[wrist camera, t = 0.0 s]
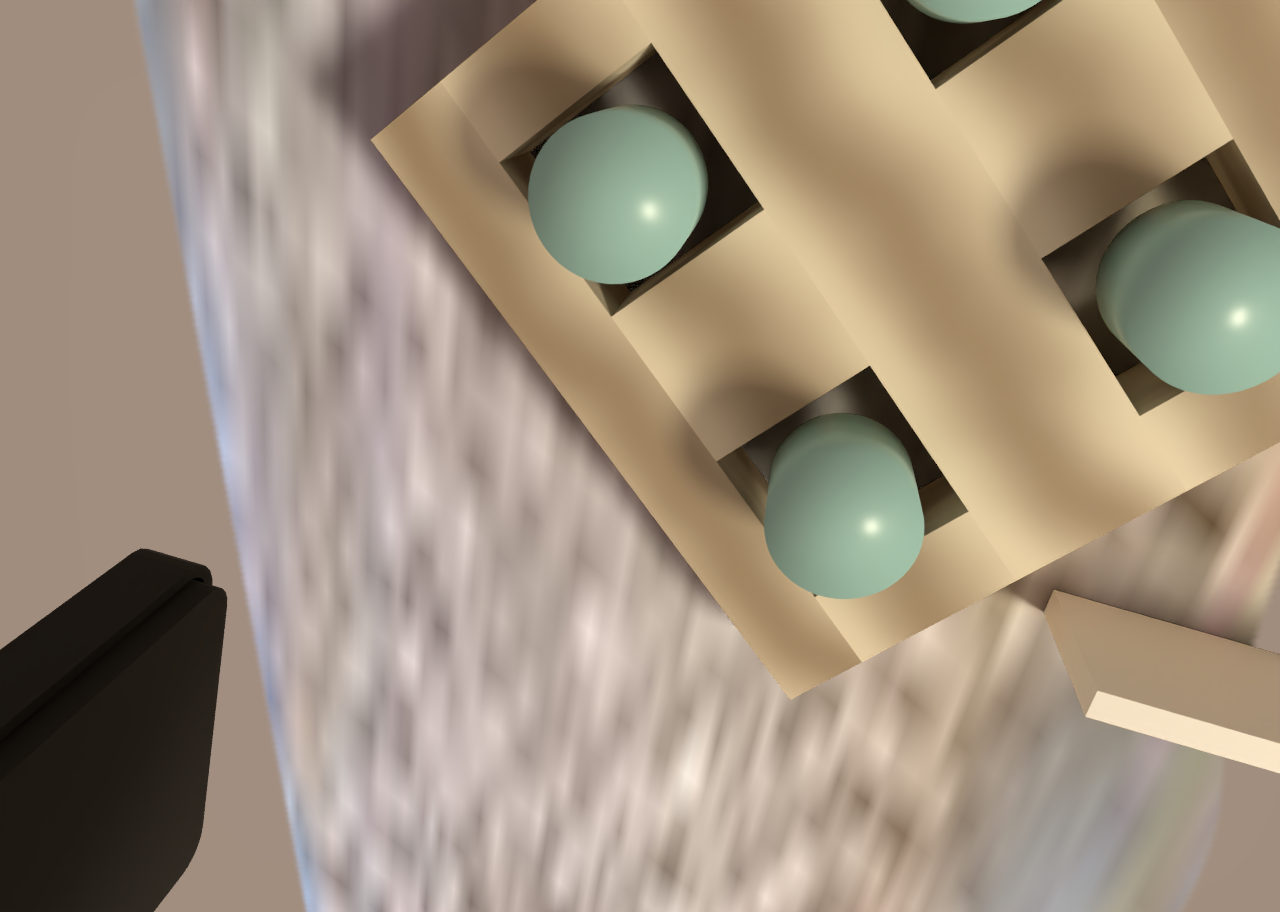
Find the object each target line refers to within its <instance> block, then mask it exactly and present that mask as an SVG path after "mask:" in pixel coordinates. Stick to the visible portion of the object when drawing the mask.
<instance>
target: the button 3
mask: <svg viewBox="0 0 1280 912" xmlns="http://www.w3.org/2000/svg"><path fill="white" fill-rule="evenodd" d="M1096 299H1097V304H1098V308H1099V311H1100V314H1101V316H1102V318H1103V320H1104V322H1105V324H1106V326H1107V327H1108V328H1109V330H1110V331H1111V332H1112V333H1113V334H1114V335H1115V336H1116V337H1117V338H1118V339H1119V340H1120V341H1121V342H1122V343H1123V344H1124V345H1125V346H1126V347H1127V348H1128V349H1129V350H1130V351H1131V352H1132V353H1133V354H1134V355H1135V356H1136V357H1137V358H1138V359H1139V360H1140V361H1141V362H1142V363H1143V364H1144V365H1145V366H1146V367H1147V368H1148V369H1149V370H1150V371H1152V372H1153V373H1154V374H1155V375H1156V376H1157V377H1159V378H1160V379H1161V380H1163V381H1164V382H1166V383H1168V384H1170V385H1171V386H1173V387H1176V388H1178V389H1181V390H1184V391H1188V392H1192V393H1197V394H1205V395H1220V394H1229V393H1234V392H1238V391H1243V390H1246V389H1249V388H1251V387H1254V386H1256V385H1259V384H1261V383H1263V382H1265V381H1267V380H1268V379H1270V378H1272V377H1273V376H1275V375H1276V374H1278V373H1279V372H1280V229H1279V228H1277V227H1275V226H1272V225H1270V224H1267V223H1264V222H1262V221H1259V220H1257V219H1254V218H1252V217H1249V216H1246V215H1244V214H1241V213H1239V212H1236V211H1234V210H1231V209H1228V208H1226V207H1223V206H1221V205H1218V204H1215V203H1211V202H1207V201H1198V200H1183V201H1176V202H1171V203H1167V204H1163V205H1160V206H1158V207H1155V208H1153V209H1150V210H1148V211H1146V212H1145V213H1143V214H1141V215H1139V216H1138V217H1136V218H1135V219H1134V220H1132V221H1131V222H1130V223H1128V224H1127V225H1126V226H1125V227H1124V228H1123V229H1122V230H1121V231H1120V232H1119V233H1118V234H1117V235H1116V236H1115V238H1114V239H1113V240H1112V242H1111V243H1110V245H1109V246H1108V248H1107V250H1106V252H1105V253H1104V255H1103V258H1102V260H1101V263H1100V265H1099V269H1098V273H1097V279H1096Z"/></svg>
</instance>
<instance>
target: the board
mask: <svg viewBox="0 0 1280 912" xmlns="http://www.w3.org/2000/svg"><path fill="white" fill-rule="evenodd" d="M656 52H658V53H659V55H660V56H661V58H662V59H663V61H664V62H665V64H666V65H667V67H668V68H669V69H670V71H671V72H672V74H673V75H674V77H675V78H676V80H677V81H678V83H679V84H680V86H681V87H682V89H683V90H684V92H685V93H686V95H687V96H688V98H689V99H690V100H691V102H692V103H693V105H694V106H695V108H696V109H697V111H698V112H699V114H700V115H701V117H702V118H703V120H704V121H705V123H706V124H707V126H708V127H709V129H710V130H711V132H712V133H713V134H714V136H715V137H716V139H717V140H718V142H719V143H720V145H721V146H722V148H723V149H724V151H725V152H726V154H727V155H728V157H729V158H730V160H731V161H732V163H733V164H734V165H735V167H736V168H737V170H738V171H739V173H740V174H741V176H742V177H743V179H744V180H745V182H746V183H747V185H748V186H749V188H750V189H751V191H752V192H753V194H754V195H755V197H756V198H757V199H758V201H759V202H757V203H756V204H755V205H753V206H752V207H750V208H749V209H747V210H746V211H745V212H743V213H742V214H740V215H739V216H737V217H736V218H735V219H733V220H732V221H730V222H729V223H728V224H726V225H725V226H723V227H722V228H720V229H719V230H718V231H716V232H715V233H713V234H712V235H711V236H709V237H708V238H706V239H705V240H703V241H702V242H701V243H699V244H698V245H696V246H695V247H694V248H692V249H691V250H689V251H688V252H686V253H685V254H684V255H682V256H681V257H679V258H678V259H677V260H675V261H674V262H672V263H671V264H669V265H668V266H667V267H665V268H664V269H662V270H661V271H659V272H658V273H657V274H655V275H654V276H652V277H651V278H650V279H648V280H647V281H645V282H644V283H642V284H641V285H640V286H638V287H637V288H635V289H634V290H633V291H631V292H630V290H629V289H628V288H627V286H626V285H625V283H623V284H605V283H598V282H594V281H590V280H587V279H584V278H582V277H579V276H577V275H576V274H574V273H572V272H570V271H569V270H567V269H566V268H564V267H563V266H562V265H560V264H559V263H558V262H557V261H556V260H555V259H554V258H553V257H552V256H551V255H550V254H549V252H548V251H547V250H546V249H545V247H544V246H543V244H542V242H541V241H540V239H539V237H538V235H537V233H536V231H535V229H534V226H533V223H532V220H531V216H530V211H529V203H528V187H529V180H530V174H531V171H532V168H533V165H534V162H535V160H536V159H535V158H534V157H533V155H532V154H531V153H530V151H531V150H533V149H534V148H535V147H536V146H538V145H539V144H540V143H542V142H543V141H544V140H545V139H547V138H548V137H549V136H550V135H552V134H553V133H554V132H556V131H557V130H558V129H559V128H561V127H562V126H563V125H564V124H566V123H567V122H568V121H570V120H571V119H572V118H573V117H575V116H576V115H577V114H578V113H580V112H581V111H582V110H584V109H585V108H586V107H587V106H589V105H590V104H591V103H593V102H594V101H595V100H596V99H598V98H599V97H600V96H601V95H603V94H604V93H605V92H607V91H608V90H609V89H610V88H612V87H613V86H614V85H615V84H617V83H618V82H619V81H621V80H622V79H623V78H624V77H626V76H627V75H628V74H629V73H631V72H632V71H633V70H635V69H636V68H637V67H638V66H640V65H641V64H642V63H644V62H645V61H646V60H647V59H649V58H650V57H651V56H652V55H654V54H655V53H656ZM371 141H372V142H373V144H374V145H375V146H376V148H377V149H378V150H379V152H380V153H381V154H382V156H383V157H384V158H385V160H386V161H387V162H388V164H389V165H390V166H391V168H392V169H393V170H394V172H395V173H396V174H397V176H398V177H399V178H400V180H401V181H402V182H403V184H404V185H405V186H406V188H407V189H408V190H409V192H410V193H411V194H412V196H413V197H414V198H415V200H416V201H417V202H418V204H419V205H420V206H421V208H422V209H423V210H424V212H425V213H426V214H427V216H428V217H429V218H430V220H431V221H432V222H433V224H434V225H435V226H436V228H437V229H438V230H439V232H440V233H441V234H442V236H443V237H444V238H445V240H446V241H447V242H448V244H449V245H450V246H451V248H452V249H453V250H454V252H455V253H456V254H457V256H458V257H459V258H460V260H461V261H462V262H463V264H464V265H465V266H466V268H467V269H468V270H469V272H470V273H471V274H472V276H473V277H474V278H475V280H476V281H477V282H478V284H479V285H480V286H481V288H482V289H483V290H484V292H485V293H486V294H487V296H488V297H489V298H490V300H491V301H492V302H493V304H494V305H495V306H496V308H497V309H498V310H499V312H500V313H501V314H502V316H503V317H504V318H505V320H506V321H507V322H508V324H509V325H510V326H511V328H512V329H513V330H514V332H515V333H516V334H517V336H518V337H519V338H520V340H521V341H522V342H523V344H524V345H525V346H526V348H527V349H528V350H529V352H530V353H531V354H532V356H533V357H534V358H535V360H536V361H537V362H538V364H539V365H540V366H541V368H542V369H543V370H544V372H545V373H546V374H547V376H548V377H549V378H550V380H551V381H552V382H553V384H554V385H555V386H556V388H557V389H558V390H559V392H560V393H561V394H562V396H563V397H564V398H565V400H566V401H567V402H568V404H569V405H570V406H571V408H572V409H573V410H574V412H575V413H576V414H577V416H578V417H579V418H580V420H581V421H582V422H583V424H584V425H585V426H586V428H587V429H588V430H589V432H590V433H591V434H592V436H593V437H594V438H595V440H596V441H597V442H598V444H599V445H600V446H601V448H602V449H603V450H604V452H605V453H606V454H607V456H608V457H609V459H610V460H611V461H612V463H613V464H614V465H615V467H616V468H617V469H618V471H619V472H620V473H621V475H622V476H623V477H624V479H625V480H626V481H627V483H628V484H629V485H630V487H631V488H632V489H633V491H634V492H635V493H636V495H637V496H638V497H639V499H640V500H641V501H642V503H643V504H644V505H645V507H646V508H647V509H648V511H649V512H650V513H651V515H652V516H653V517H654V519H655V520H656V521H657V523H658V524H659V525H660V527H661V528H662V529H663V531H664V532H665V533H666V535H667V536H668V537H669V539H670V540H671V541H672V543H673V544H674V545H675V547H676V548H677V549H678V551H679V552H680V553H681V555H682V556H683V557H684V559H685V560H686V561H687V563H688V564H689V565H690V567H691V568H692V569H693V571H694V572H695V573H696V575H697V576H698V577H699V579H700V580H701V581H702V583H703V584H704V585H705V587H706V588H707V589H708V591H709V592H710V593H711V595H712V596H713V597H714V599H715V600H716V601H717V603H718V604H719V605H720V607H721V608H722V609H723V611H724V612H725V613H726V615H727V616H728V617H729V619H730V620H731V621H732V623H733V624H734V625H735V627H736V628H737V629H738V631H739V632H740V633H741V635H742V636H743V637H744V639H745V640H746V641H747V643H748V644H749V645H750V647H751V648H752V649H753V651H754V652H755V653H756V655H757V656H758V657H759V659H760V660H761V661H762V663H763V664H764V665H765V667H766V668H767V669H768V671H769V672H770V673H771V675H772V676H773V677H774V679H775V680H776V681H777V683H778V684H779V685H780V687H781V688H782V689H783V691H784V692H785V693H786V695H787V696H788V697H789V699H790V700H791V699H793V698H795V697H797V696H798V695H800V694H802V693H804V692H806V691H808V690H810V689H812V688H814V687H816V686H817V685H819V684H821V683H823V682H825V681H827V680H829V679H831V678H833V677H835V676H836V675H838V674H840V673H842V672H844V671H846V670H848V669H850V668H852V667H854V666H855V665H857V664H859V663H861V662H863V661H865V660H867V659H869V658H871V657H873V656H874V655H876V654H878V653H880V652H882V651H884V650H886V649H888V648H890V647H891V646H893V645H895V644H897V643H899V642H901V641H903V640H905V639H907V638H909V637H910V636H912V635H914V634H916V633H918V632H920V631H922V630H924V629H926V628H928V627H929V626H931V625H933V624H935V623H937V622H939V621H941V620H943V619H945V618H947V617H948V616H950V615H952V614H954V613H956V612H958V611H960V610H962V609H964V608H966V607H967V606H969V605H971V604H973V603H975V602H977V601H979V600H981V599H983V598H985V597H986V596H988V595H990V594H992V593H994V592H996V591H998V590H1000V589H1002V588H1004V587H1005V586H1007V585H1009V584H1011V583H1013V582H1015V581H1017V580H1019V579H1021V578H1023V577H1024V576H1026V575H1028V574H1030V573H1032V572H1034V571H1036V570H1038V569H1040V568H1041V567H1043V566H1045V565H1047V564H1049V563H1051V562H1053V561H1055V560H1057V559H1059V558H1060V557H1062V556H1064V555H1066V554H1068V553H1070V552H1072V551H1074V550H1076V549H1078V548H1079V547H1081V546H1083V545H1085V544H1087V543H1089V542H1091V541H1093V540H1095V539H1097V538H1098V537H1100V536H1102V535H1104V534H1106V533H1108V532H1110V531H1112V530H1114V529H1116V528H1117V527H1119V526H1121V525H1123V524H1125V523H1127V522H1129V521H1131V520H1133V519H1135V518H1136V517H1138V516H1140V515H1142V514H1144V513H1146V512H1148V511H1150V510H1152V509H1154V508H1155V507H1157V506H1159V505H1161V504H1163V503H1165V502H1167V501H1169V500H1171V499H1173V498H1174V497H1176V496H1178V495H1180V494H1182V493H1184V492H1186V491H1188V490H1190V489H1191V488H1193V487H1195V486H1197V485H1199V484H1201V483H1203V482H1205V481H1207V480H1209V479H1210V478H1212V477H1214V476H1216V475H1218V474H1220V473H1222V472H1224V471H1226V470H1228V469H1229V468H1231V467H1233V466H1235V465H1237V464H1239V463H1241V462H1243V461H1245V460H1247V459H1248V458H1250V457H1252V456H1254V455H1256V454H1258V453H1260V452H1262V451H1264V450H1266V449H1267V448H1269V447H1271V446H1273V445H1275V444H1277V443H1279V442H1280V372H1279V373H1278V374H1276V375H1275V376H1273V377H1272V378H1270V379H1268V380H1267V381H1265V382H1263V383H1261V384H1259V385H1256V386H1254V387H1251V388H1249V389H1246V390H1243V391H1238V392H1234V393H1229V394H1220V395H1205V394H1197V393H1192V392H1188V391H1184V390H1181V389H1178V388H1176V387H1173V386H1171V385H1170V384H1168V383H1166V382H1164V381H1163V380H1161V379H1160V378H1159V377H1157V376H1156V375H1155V374H1154V373H1153V372H1152V371H1150V370H1149V369H1148V368H1147V367H1146V366H1145V365H1144V364H1143V363H1142V362H1140V363H1139V364H1137V365H1135V366H1133V367H1132V368H1130V369H1128V370H1126V371H1125V372H1123V373H1121V374H1119V375H1118V376H1116V377H1115V376H1114V374H1113V373H1112V371H1111V369H1110V368H1109V366H1108V365H1107V363H1106V361H1105V360H1104V358H1103V357H1102V355H1101V353H1100V352H1099V350H1098V349H1097V347H1096V345H1095V344H1094V342H1093V341H1092V339H1091V337H1090V336H1089V334H1088V333H1087V331H1086V329H1085V328H1084V326H1083V325H1082V323H1081V321H1080V320H1079V318H1078V317H1077V315H1076V313H1075V312H1074V310H1073V309H1072V307H1071V305H1070V304H1069V302H1068V301H1067V299H1066V297H1065V296H1064V294H1063V293H1062V291H1061V289H1060V288H1059V286H1058V285H1057V283H1056V281H1055V280H1054V278H1053V277H1052V275H1051V273H1050V272H1049V270H1048V269H1047V267H1046V265H1045V264H1044V262H1043V261H1042V259H1041V258H1043V257H1045V256H1046V255H1048V254H1049V253H1051V252H1053V251H1054V250H1056V249H1057V248H1059V247H1061V246H1062V245H1064V244H1065V243H1067V242H1069V241H1070V240H1072V239H1073V238H1075V237H1077V236H1078V235H1080V234H1081V233H1083V232H1085V231H1086V230H1088V229H1089V228H1091V227H1093V226H1094V225H1096V224H1097V223H1099V222H1101V221H1102V220H1104V219H1105V218H1107V217H1109V216H1110V215H1112V214H1113V213H1115V212H1117V211H1118V210H1120V209H1122V208H1123V207H1125V206H1126V205H1128V204H1130V203H1131V202H1133V201H1134V200H1136V199H1138V198H1139V197H1141V196H1142V195H1144V194H1146V193H1147V192H1149V191H1150V190H1152V189H1154V188H1155V187H1157V186H1158V185H1160V184H1162V183H1163V182H1165V181H1166V180H1168V179H1170V178H1171V177H1173V176H1174V175H1176V174H1178V173H1179V172H1181V171H1182V170H1184V169H1186V168H1187V167H1189V166H1190V165H1192V164H1194V163H1195V162H1197V161H1198V160H1200V159H1202V158H1203V157H1206V158H1207V160H1208V162H1209V164H1210V165H1211V167H1212V169H1213V171H1214V172H1215V174H1216V176H1217V177H1218V179H1219V181H1220V183H1221V184H1222V186H1223V188H1224V190H1225V191H1226V193H1227V195H1228V197H1229V198H1230V200H1231V202H1232V203H1233V205H1234V207H1235V209H1236V210H1237V212H1239V213H1241V214H1244V215H1246V216H1249V217H1252V218H1254V219H1257V220H1259V221H1262V222H1264V223H1267V224H1270V225H1272V226H1275V227H1277V228H1279V229H1280V0H1044V1H1042V2H1041V3H1040V4H1038V5H1037V6H1035V7H1034V8H1033V9H1031V10H1030V11H1028V12H1027V13H1025V14H1024V15H1023V16H1021V17H1020V18H1018V19H1017V20H1016V21H1014V22H1013V23H1011V24H1010V25H1008V26H1007V27H1006V28H1004V29H1003V30H1001V31H1000V32H999V33H997V34H996V35H994V36H993V37H991V38H990V39H989V40H987V41H986V42H984V43H983V44H981V45H980V46H979V47H977V48H976V49H974V50H973V51H972V52H970V53H969V54H967V55H966V56H964V57H963V58H962V59H960V60H959V61H957V62H956V63H955V64H953V65H952V66H950V67H949V68H947V69H946V70H945V71H943V72H942V73H940V74H939V75H938V76H936V77H935V78H933V79H932V80H929V78H928V76H927V75H926V73H925V72H924V70H923V68H922V67H921V65H920V64H919V62H918V60H917V59H916V57H915V56H914V54H913V52H912V51H911V49H910V48H909V46H908V44H907V43H906V41H905V40H904V38H903V36H902V35H901V33H900V32H899V30H898V28H897V27H896V25H895V24H894V22H893V20H892V19H891V17H890V16H889V14H888V12H887V11H886V9H885V8H884V6H883V4H882V3H881V1H880V0H537V1H535V2H534V3H533V4H532V5H531V6H530V7H528V8H527V9H526V10H525V11H524V12H522V13H521V14H520V15H519V16H518V17H516V18H515V19H514V20H513V21H512V22H510V23H509V24H508V25H507V26H506V27H504V28H503V29H502V30H501V31H500V32H499V33H497V34H496V35H495V36H494V37H493V38H491V39H490V40H489V41H488V42H487V43H485V44H484V45H483V46H482V47H481V48H479V49H478V50H477V51H476V52H475V53H473V54H472V55H471V56H470V57H469V58H468V59H466V60H465V61H464V62H463V63H462V64H460V65H459V66H458V67H457V68H456V69H454V70H453V71H452V72H451V73H450V74H448V75H447V76H446V77H445V78H444V79H443V80H441V81H440V82H439V83H438V84H437V85H435V86H434V87H433V88H432V89H431V90H429V91H428V92H427V93H426V94H425V95H423V96H422V97H421V98H420V99H419V100H417V101H416V102H415V103H414V104H413V105H412V106H410V107H409V108H408V109H407V110H406V111H404V112H403V113H402V114H401V115H400V116H398V117H397V118H396V119H395V120H394V121H392V122H391V123H390V124H389V125H388V126H386V127H385V128H384V129H383V130H382V131H381V132H379V133H378V134H377V135H376V136H375V137H373V138H372V139H371ZM868 366H871V368H872V369H873V371H874V372H875V374H876V375H877V377H878V378H879V380H880V381H881V383H882V384H883V386H884V387H885V389H886V390H887V392H888V393H889V394H890V396H891V397H892V399H893V400H894V402H895V403H896V405H897V406H898V408H899V409H900V411H901V412H902V414H903V415H904V417H905V418H906V420H907V421H908V423H909V424H910V425H911V427H912V428H913V430H914V431H915V433H916V434H917V436H918V437H919V439H920V440H921V442H922V443H923V445H924V446H925V448H926V449H927V451H928V452H929V454H930V455H931V457H932V458H933V459H934V461H935V462H936V464H937V465H938V467H939V468H940V470H941V471H942V473H943V474H944V475H943V476H942V477H940V478H938V479H936V480H935V481H933V482H931V483H929V484H928V485H926V486H924V487H922V488H921V489H919V490H918V494H919V498H920V502H921V507H922V511H923V516H924V537H923V542H922V546H921V549H920V552H919V554H918V556H917V558H916V560H915V562H914V563H913V565H912V566H911V568H910V569H909V570H908V571H907V572H906V573H905V575H904V576H903V577H902V578H900V579H899V580H898V581H897V582H896V583H894V584H893V585H891V586H890V587H888V588H886V589H884V590H882V591H880V592H878V593H876V594H872V595H869V596H866V597H861V598H855V599H834V598H827V597H823V596H820V595H816V594H814V593H811V592H809V591H807V590H805V589H803V588H801V587H799V586H798V585H796V584H795V583H793V582H792V581H791V580H790V579H788V578H787V577H786V576H785V575H784V574H783V573H782V572H781V570H780V569H779V568H778V567H777V565H776V564H775V562H774V560H773V559H772V557H771V555H770V553H769V550H768V547H767V544H766V540H765V534H764V519H765V510H766V502H767V493H768V485H769V484H768V483H767V481H766V480H765V478H764V477H763V476H762V474H761V473H760V472H759V470H758V469H757V467H756V466H755V465H754V463H753V462H752V460H751V459H750V458H749V456H748V455H747V453H746V452H745V451H744V449H743V448H742V445H743V444H745V443H747V442H748V441H750V440H751V439H753V438H755V437H756V436H758V435H759V434H761V433H763V432H764V431H766V430H767V429H769V428H771V427H772V426H774V425H775V424H777V423H779V422H780V421H782V420H783V419H785V418H787V417H788V416H790V415H791V414H793V413H795V412H796V411H798V410H799V409H801V408H803V407H804V406H806V405H807V404H809V403H811V402H812V401H814V400H815V399H817V398H819V397H820V396H822V395H823V394H825V393H827V392H828V391H830V390H832V389H833V388H835V387H836V386H838V385H840V384H841V383H843V382H844V381H846V380H848V379H849V378H851V377H852V376H854V375H856V374H857V373H859V372H860V371H862V370H864V369H865V368H867V367H868Z"/></svg>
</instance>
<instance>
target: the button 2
mask: <svg viewBox="0 0 1280 912" xmlns="http://www.w3.org/2000/svg"><path fill="white" fill-rule="evenodd" d="M764 534H765V540H766V544H767V547H768V550H769V553H770V555H771V557H772V559H773V560H774V562H775V564H776V565H777V567H778V568H779V569H780V570H781V572H782V573H783V574H784V575H785V576H786V577H787V578H788V579H790V580H791V581H792V582H793V583H795V584H796V585H798V586H799V587H801V588H803V589H805V590H807V591H809V592H811V593H814V594H816V595H820V596H823V597H827V598H834V599H855V598H861V597H866V596H869V595H872V594H876V593H878V592H880V591H882V590H884V589H886V588H888V587H890V586H891V585H893V584H894V583H896V582H897V581H898V580H899V579H900V578H902V577H903V576H904V575H905V573H906V572H907V571H908V570H909V569H910V568H911V566H912V565H913V563H914V562H915V560H916V558H917V556H918V554H919V552H920V549H921V546H922V542H923V537H924V516H923V511H922V507H921V502H920V498H919V494H918V489H917V485H916V480H915V476H914V471H913V467H912V463H911V459H910V457H909V454H908V452H907V450H906V449H905V447H904V445H903V444H902V442H901V441H900V440H899V439H898V437H897V436H896V435H895V434H894V433H893V432H892V431H891V430H889V429H888V428H886V427H885V426H884V425H882V424H880V423H879V422H877V421H875V420H872V419H870V418H867V417H864V416H860V415H856V414H849V413H835V414H827V415H823V416H819V417H816V418H814V419H811V420H809V421H807V422H805V423H803V424H801V425H800V426H799V427H797V428H796V429H794V430H793V431H792V432H791V433H790V434H789V435H788V436H787V437H786V438H785V439H784V440H783V442H782V443H781V444H780V446H779V448H778V449H777V451H776V453H775V456H774V458H773V461H772V464H771V469H770V476H769V485H768V493H767V502H766V510H765V519H764Z"/></svg>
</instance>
